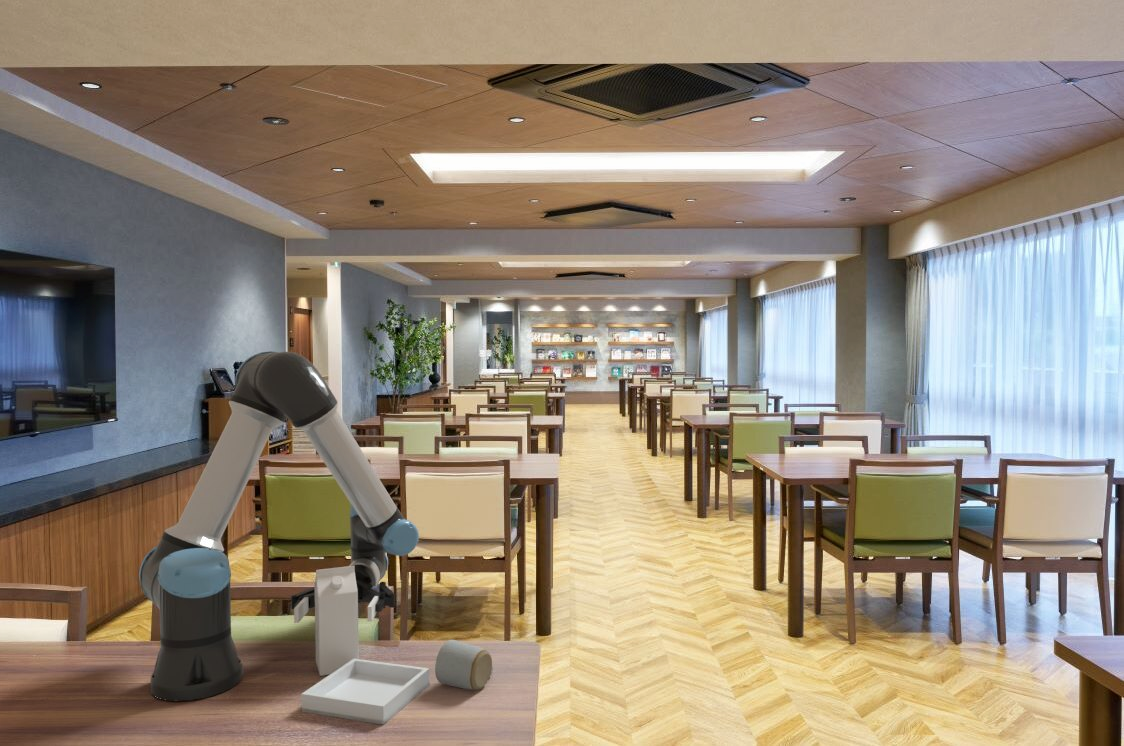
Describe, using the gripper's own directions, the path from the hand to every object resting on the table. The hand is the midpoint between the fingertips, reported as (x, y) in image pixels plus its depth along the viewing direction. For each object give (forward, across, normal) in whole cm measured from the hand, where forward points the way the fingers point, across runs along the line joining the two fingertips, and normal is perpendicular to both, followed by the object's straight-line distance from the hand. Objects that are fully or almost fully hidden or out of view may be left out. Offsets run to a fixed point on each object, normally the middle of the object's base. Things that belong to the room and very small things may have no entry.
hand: (333, 614), depth 146 cm
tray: (+11, -9, -11) cm, 18 cm away
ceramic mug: (+6, -26, -11) cm, 28 cm away
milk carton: (-3, 0, -11) cm, 12 cm away
